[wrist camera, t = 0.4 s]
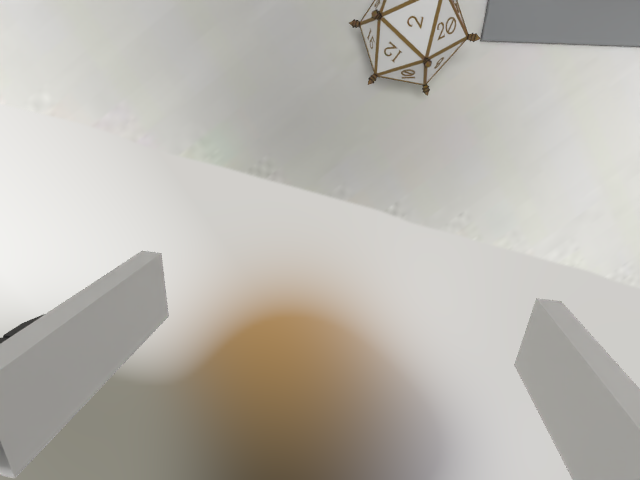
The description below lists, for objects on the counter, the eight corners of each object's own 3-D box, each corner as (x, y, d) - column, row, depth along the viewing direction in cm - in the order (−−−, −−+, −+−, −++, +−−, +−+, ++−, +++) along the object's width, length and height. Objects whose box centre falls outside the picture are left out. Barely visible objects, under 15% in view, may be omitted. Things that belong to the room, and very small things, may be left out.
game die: (412, 21, 34) (487, -86, 24) (439, 106, 33) (527, 32, 24) (323, 28, 31) (369, -88, 22) (351, 121, 31) (411, 45, 21)
